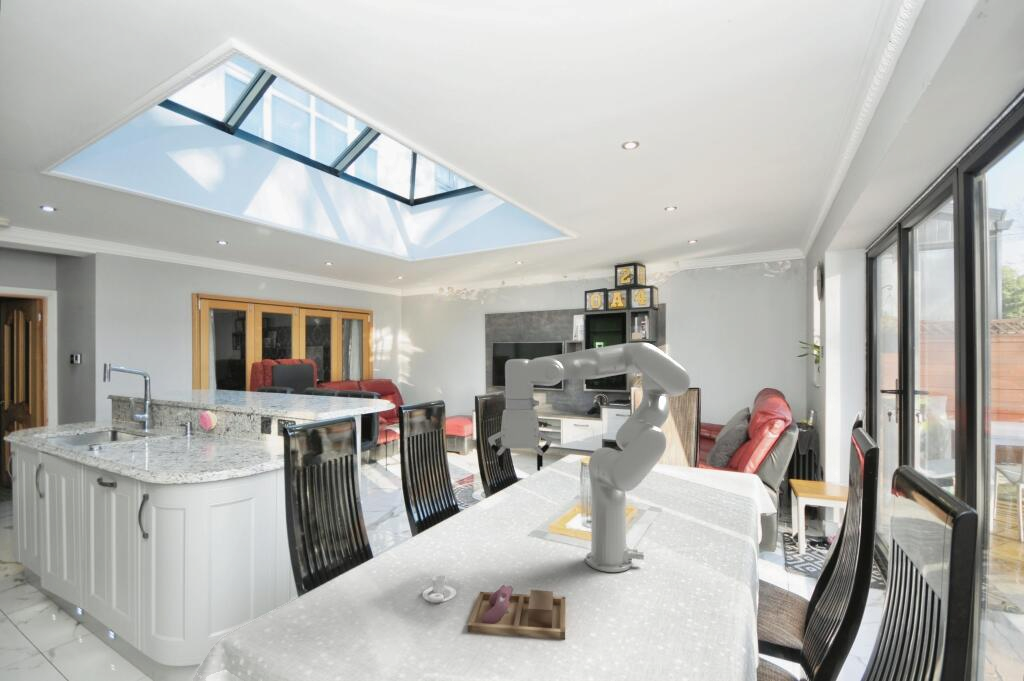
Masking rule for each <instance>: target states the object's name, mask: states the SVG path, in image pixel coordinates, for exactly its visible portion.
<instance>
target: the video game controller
mask: <svg viewBox="0 0 1024 681" xmlns="http://www.w3.org/2000/svg"><path fill="white" fill-rule="evenodd" d="M513 591H514V587H512V585H509V584H508V585H507V584H506V583H504V585H501V586H500V588H499V589H497V590H496V591H494V593H493V594H492V595H491V596H490V597H489V603H490V604H491V605H494V607H493V608H492V609H491V610H489V611H488V612H487V613H485V614H484V615H483V617H482V620H481V621H482V623H485V624H494V623H496V622H497V621H498V620H501V618H503V616H504V614H505V613H507V614H508V613H509V611H510V608H509V610H508V606H509V599H510V597H511V595H512V594H513Z"/></svg>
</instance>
